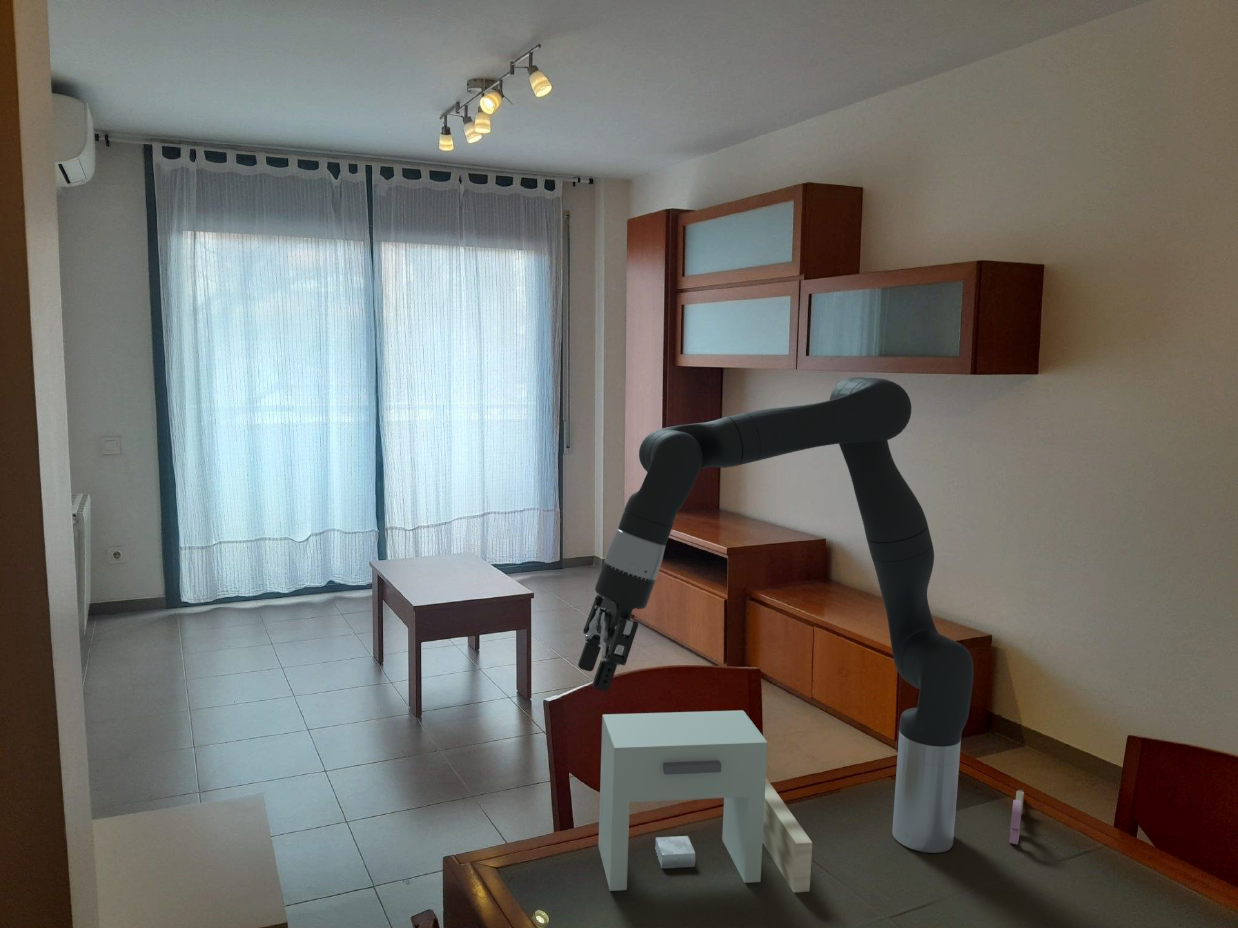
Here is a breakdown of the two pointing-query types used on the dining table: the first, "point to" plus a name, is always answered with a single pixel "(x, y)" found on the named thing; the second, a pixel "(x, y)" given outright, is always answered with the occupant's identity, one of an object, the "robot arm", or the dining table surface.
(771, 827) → the beech blade
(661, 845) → the block
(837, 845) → the dining table surface
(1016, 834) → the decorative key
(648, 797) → the desk
